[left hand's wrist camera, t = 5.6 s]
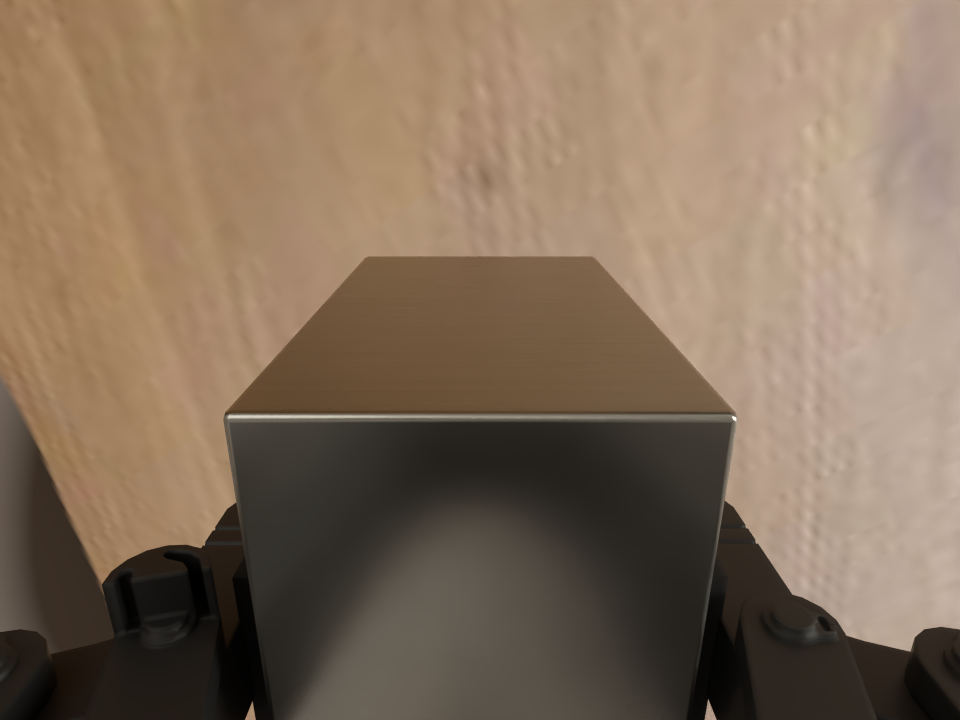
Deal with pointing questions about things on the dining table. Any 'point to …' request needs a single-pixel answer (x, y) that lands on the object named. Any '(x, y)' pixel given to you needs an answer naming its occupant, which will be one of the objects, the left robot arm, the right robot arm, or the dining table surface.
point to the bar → (480, 499)
